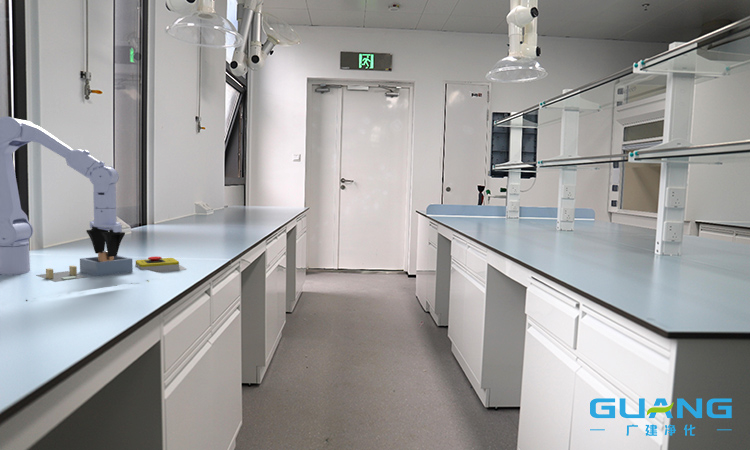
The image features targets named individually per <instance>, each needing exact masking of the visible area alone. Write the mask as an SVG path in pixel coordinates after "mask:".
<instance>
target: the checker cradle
mask: <svg viewBox="0 0 750 450" xmlns="http://www.w3.org/2000/svg"><path fill="white" fill-rule="evenodd" d="M68 267H69V268H68V269H69V270H67V271H58V272H54V269H53V268H50V267H48V268H45V273H42V274H36V275H35V276H37V277H39V278H42V279H46V280H48V281H51V282H55V283H57V282H65V281H70V280H71V281H72V280H76V279H77V280H79V279H85V278H87V276H85V275H82V274H78V272H77V271H78V269H77V268H78V267H77V266H76V265H69V266H68Z"/></svg>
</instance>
